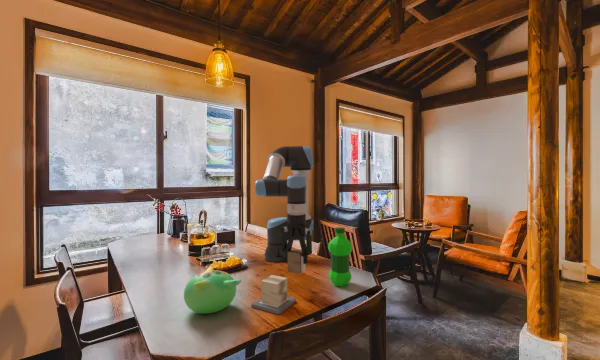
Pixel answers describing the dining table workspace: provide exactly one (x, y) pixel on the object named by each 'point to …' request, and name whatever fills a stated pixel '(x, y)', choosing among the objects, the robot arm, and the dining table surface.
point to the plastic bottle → (340, 258)
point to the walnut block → (294, 261)
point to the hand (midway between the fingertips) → (296, 269)
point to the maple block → (274, 290)
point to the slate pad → (272, 308)
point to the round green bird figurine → (210, 291)
